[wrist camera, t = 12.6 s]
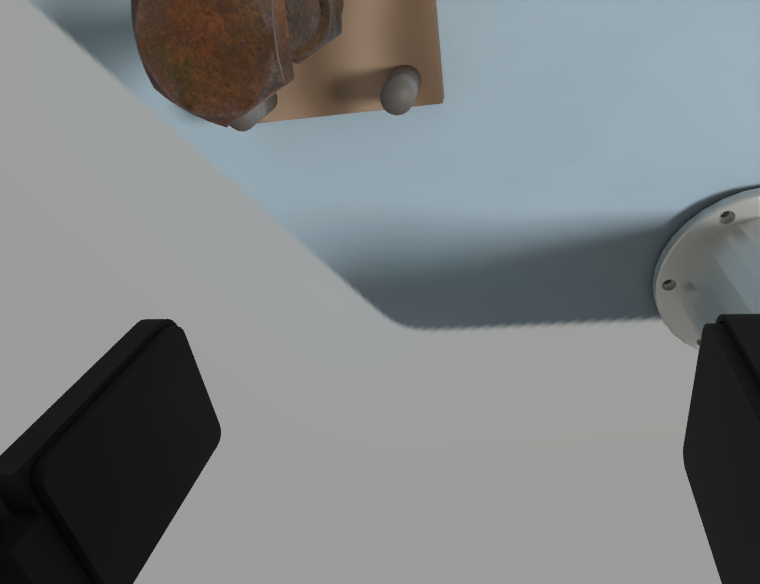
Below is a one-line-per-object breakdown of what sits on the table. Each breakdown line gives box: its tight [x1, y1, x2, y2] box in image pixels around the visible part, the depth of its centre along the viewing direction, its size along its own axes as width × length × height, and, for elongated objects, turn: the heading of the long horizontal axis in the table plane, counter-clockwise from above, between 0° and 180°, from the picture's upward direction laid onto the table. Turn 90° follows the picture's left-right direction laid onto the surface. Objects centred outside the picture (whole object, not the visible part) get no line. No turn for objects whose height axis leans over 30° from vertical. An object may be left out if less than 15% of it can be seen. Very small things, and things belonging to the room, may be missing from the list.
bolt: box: [131, 0, 344, 127], centre depth 25 cm, size 6×5×15 cm
